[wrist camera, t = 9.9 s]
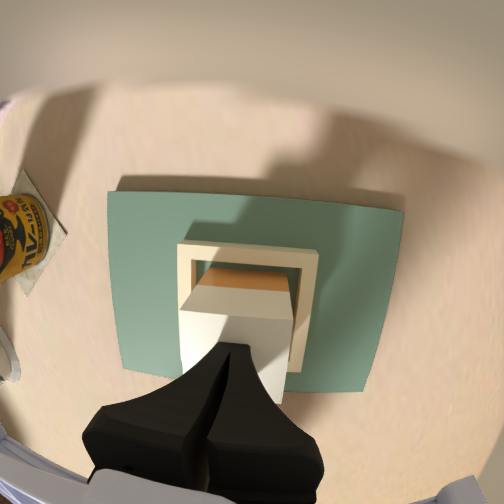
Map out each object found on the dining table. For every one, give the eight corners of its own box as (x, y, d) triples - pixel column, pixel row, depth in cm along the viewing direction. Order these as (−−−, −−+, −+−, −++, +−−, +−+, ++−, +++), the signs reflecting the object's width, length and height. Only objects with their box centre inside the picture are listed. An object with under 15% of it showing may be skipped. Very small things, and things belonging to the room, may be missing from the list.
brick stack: (209, 334, 18) (185, 394, 12) (209, 267, 17) (178, 309, 11) (279, 340, 18) (281, 403, 12) (286, 272, 17) (293, 319, 11)
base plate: (128, 361, 21) (116, 377, 18) (115, 190, 17) (97, 192, 15) (359, 383, 20) (366, 402, 18) (397, 210, 17) (412, 214, 14)
